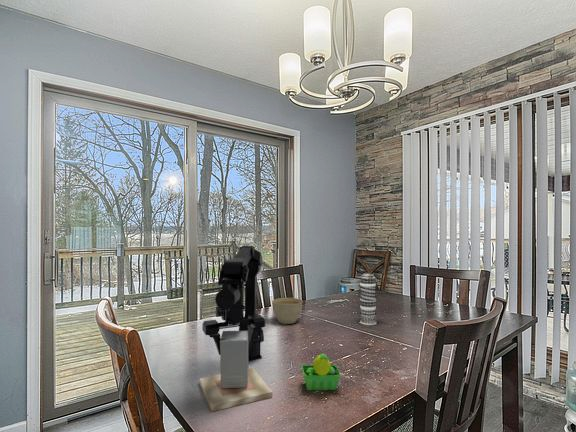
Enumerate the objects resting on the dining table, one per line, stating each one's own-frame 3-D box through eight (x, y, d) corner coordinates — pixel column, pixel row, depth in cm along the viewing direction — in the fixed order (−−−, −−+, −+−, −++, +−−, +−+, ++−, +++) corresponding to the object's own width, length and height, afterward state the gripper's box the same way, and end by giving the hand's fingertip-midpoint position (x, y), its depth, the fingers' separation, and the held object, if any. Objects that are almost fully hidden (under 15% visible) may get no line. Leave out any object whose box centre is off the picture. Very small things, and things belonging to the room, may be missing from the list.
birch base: (252, 372, 114) (252, 367, 114) (272, 396, 98) (272, 391, 98) (199, 383, 106) (199, 378, 107) (211, 411, 90) (211, 405, 90)
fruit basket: (336, 380, 108) (336, 345, 109) (341, 394, 99) (341, 356, 100) (301, 380, 108) (301, 345, 108) (303, 394, 99) (303, 356, 99)
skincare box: (248, 376, 106) (250, 329, 104) (247, 390, 99) (248, 339, 97) (221, 376, 105) (222, 328, 104) (218, 390, 98) (219, 339, 97)
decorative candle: (373, 326, 165) (372, 276, 165) (356, 323, 170) (355, 274, 171) (380, 322, 172) (379, 273, 173) (363, 319, 178) (363, 272, 178)
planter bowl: (303, 317, 181) (303, 297, 181) (301, 326, 165) (301, 304, 165) (274, 317, 183) (274, 297, 183) (269, 325, 166) (269, 304, 167)
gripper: (254, 293, 114) (254, 339, 114) (199, 299, 106) (199, 348, 106) (266, 300, 104) (266, 350, 104) (206, 306, 96) (206, 361, 96)
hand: (234, 351), depth 102 cm, fingers closed on skincare box, 9 cm apart
